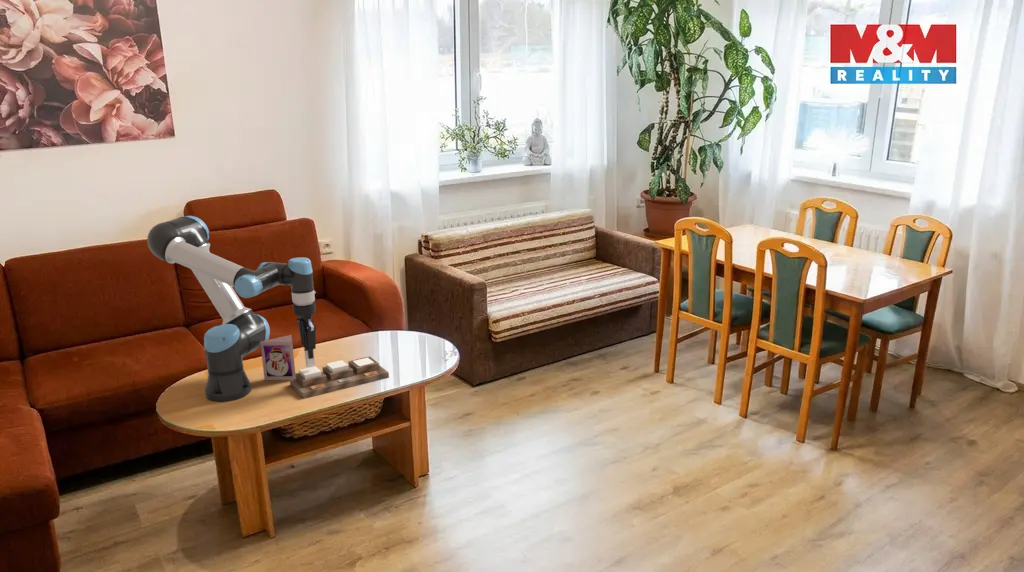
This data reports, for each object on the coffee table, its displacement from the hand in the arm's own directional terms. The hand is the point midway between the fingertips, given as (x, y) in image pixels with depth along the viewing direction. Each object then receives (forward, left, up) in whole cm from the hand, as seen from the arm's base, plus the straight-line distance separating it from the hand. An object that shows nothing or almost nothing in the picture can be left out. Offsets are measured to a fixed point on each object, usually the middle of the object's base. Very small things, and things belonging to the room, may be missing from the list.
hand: (310, 365), depth 280 cm
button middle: (+10, 0, -4) cm, 11 cm away
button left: (0, 0, -4) cm, 4 cm away
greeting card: (-6, +15, -8) cm, 18 cm away
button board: (+10, -1, -8) cm, 13 cm away
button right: (+20, 0, -6) cm, 21 cm away
